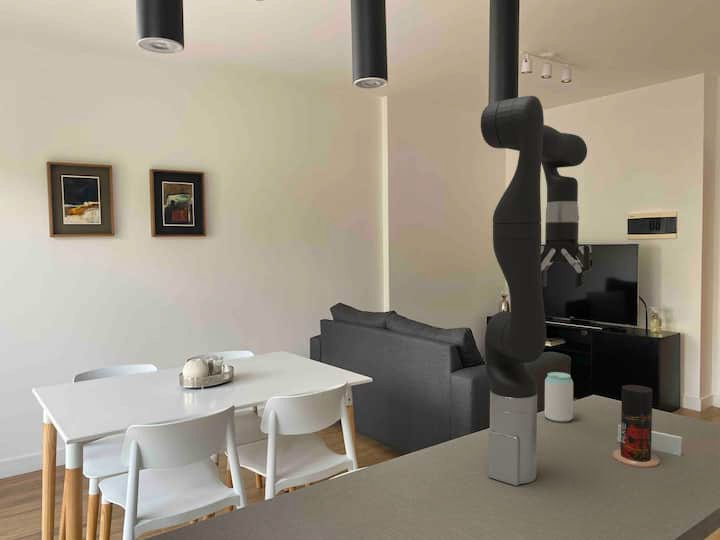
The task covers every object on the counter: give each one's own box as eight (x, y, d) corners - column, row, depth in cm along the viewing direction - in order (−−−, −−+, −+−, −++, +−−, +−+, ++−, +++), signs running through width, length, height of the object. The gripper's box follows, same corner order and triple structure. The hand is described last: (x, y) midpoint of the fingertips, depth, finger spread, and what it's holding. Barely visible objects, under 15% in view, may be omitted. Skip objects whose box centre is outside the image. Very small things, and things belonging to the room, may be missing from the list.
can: (573, 424, 142) (573, 378, 141) (544, 421, 144) (545, 376, 143) (572, 416, 148) (572, 372, 148) (544, 413, 151) (545, 370, 150)
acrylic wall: (680, 455, 121) (680, 438, 121) (617, 441, 129) (618, 425, 129) (681, 454, 122) (681, 436, 121) (618, 440, 130) (619, 424, 130)
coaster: (653, 471, 113) (653, 468, 113) (607, 460, 119) (607, 457, 119) (663, 458, 120) (663, 455, 120) (620, 447, 126) (620, 445, 126)
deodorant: (614, 453, 121) (615, 386, 120) (633, 449, 123) (635, 383, 122) (637, 463, 116) (639, 393, 115) (657, 459, 118) (659, 390, 117)
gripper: (527, 221, 135) (526, 287, 136) (586, 219, 126) (585, 290, 126) (539, 222, 140) (539, 285, 141) (597, 220, 131) (596, 288, 132)
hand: (560, 287), depth 134 cm, fingers open, 8 cm apart
